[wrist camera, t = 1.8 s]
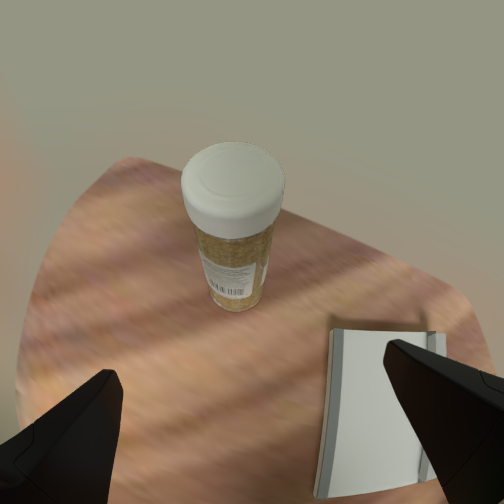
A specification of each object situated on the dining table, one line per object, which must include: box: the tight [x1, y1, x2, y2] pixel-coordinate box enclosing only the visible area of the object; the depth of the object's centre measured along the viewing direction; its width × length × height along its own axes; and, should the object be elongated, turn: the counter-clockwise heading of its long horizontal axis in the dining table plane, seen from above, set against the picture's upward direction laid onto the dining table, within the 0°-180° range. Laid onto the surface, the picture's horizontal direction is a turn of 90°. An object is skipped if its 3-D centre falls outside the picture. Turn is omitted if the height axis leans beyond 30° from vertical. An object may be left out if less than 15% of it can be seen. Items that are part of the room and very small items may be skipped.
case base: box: [313, 328, 447, 500], centre depth 18 cm, size 14×10×2 cm
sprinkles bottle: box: [181, 141, 285, 312], centre depth 18 cm, size 5×5×13 cm
